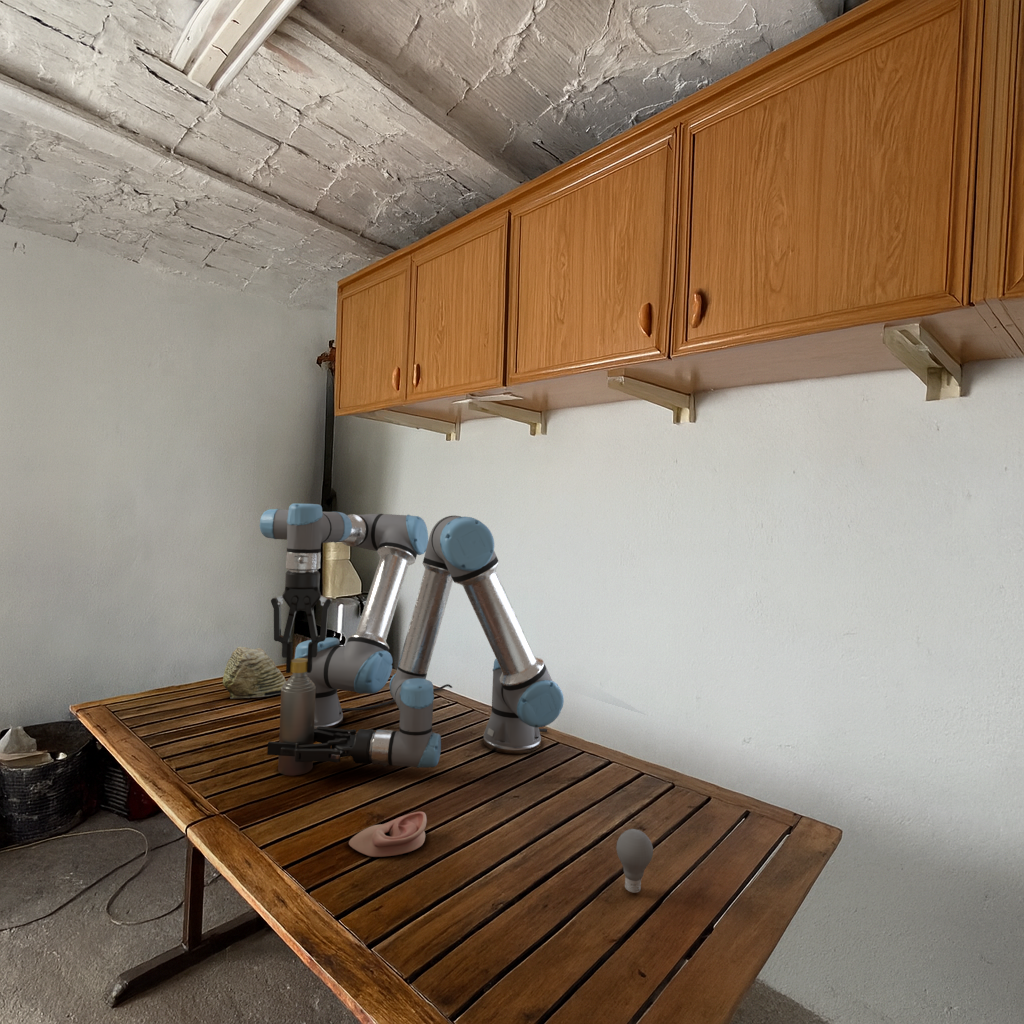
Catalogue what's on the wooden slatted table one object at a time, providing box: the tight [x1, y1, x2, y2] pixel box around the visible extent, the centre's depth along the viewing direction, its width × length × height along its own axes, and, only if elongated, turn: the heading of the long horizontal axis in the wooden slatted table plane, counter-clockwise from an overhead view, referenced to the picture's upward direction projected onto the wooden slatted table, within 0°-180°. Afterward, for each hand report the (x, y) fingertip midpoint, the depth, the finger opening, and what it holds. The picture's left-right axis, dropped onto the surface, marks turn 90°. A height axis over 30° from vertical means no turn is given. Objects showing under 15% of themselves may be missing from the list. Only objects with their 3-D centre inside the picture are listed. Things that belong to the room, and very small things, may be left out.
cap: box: [290, 658, 308, 674], centre depth 146 cm, size 4×4×2 cm
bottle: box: [277, 672, 316, 776], centre depth 147 cm, size 8×8×25 cm
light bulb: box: [615, 828, 654, 894], centre depth 106 cm, size 6×6×10 cm
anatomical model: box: [348, 811, 428, 858], centre depth 117 cm, size 13×4×12 cm
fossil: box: [222, 646, 287, 699], centre depth 198 cm, size 9×18×15 cm, turn 132°
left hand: (299, 671), depth 146 cm, fingers closed on cap, 4 cm apart
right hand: (275, 741), depth 147 cm, fingers closed on bottle, 8 cm apart
